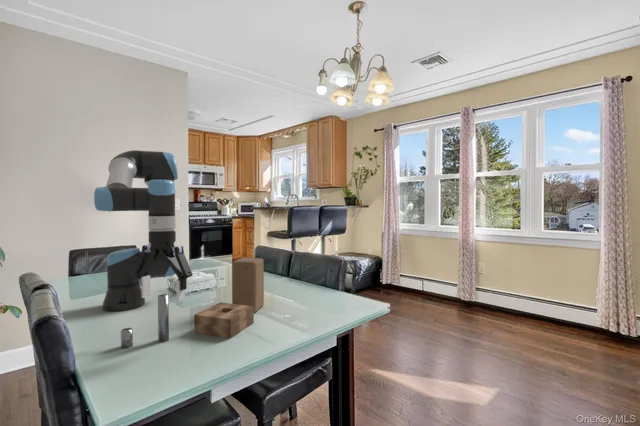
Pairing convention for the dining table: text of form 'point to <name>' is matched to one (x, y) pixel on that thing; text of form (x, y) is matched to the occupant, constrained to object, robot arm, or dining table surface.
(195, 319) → the socket block
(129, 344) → the short pin
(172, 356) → the dining table surface
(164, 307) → the long pin
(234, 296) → the wooden block
